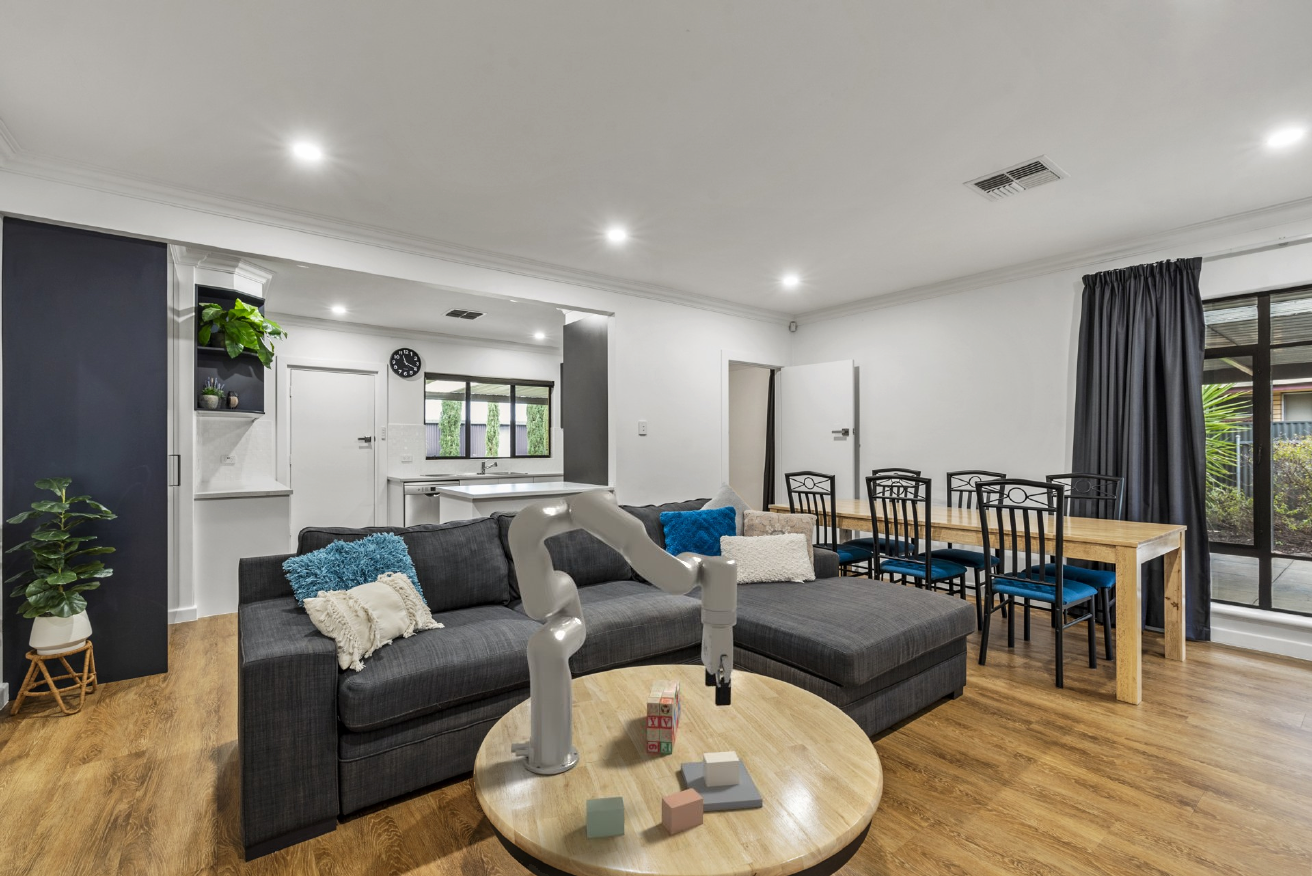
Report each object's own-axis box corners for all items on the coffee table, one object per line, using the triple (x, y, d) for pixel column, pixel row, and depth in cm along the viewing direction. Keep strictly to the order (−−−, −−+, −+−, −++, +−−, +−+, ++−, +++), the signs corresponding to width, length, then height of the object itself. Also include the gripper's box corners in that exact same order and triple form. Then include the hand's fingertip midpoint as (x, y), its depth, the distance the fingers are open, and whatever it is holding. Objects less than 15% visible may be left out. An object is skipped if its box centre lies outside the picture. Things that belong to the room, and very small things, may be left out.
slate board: (694, 812, 124) (694, 804, 124) (680, 769, 140) (680, 763, 140) (762, 806, 126) (762, 799, 126) (741, 765, 142) (741, 758, 142)
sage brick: (587, 838, 116) (586, 811, 116) (586, 825, 120) (586, 799, 120) (624, 835, 117) (624, 808, 117) (622, 822, 121) (622, 796, 121)
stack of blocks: (657, 713, 169) (657, 668, 169) (680, 714, 168) (680, 669, 168) (646, 753, 147) (646, 701, 147) (672, 755, 147) (672, 703, 146)
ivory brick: (707, 786, 130) (706, 762, 130) (703, 776, 134) (703, 753, 134) (739, 784, 131) (739, 760, 131) (734, 774, 135) (734, 751, 135)
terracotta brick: (671, 834, 117) (671, 808, 117) (661, 823, 121) (661, 797, 121) (703, 824, 120) (703, 798, 120) (692, 812, 124) (692, 788, 124)
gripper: (693, 604, 141) (692, 679, 141) (710, 628, 124) (709, 714, 124) (726, 603, 142) (724, 678, 142) (747, 627, 125) (745, 712, 125)
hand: (717, 695), depth 133 cm, fingers open, 9 cm apart
